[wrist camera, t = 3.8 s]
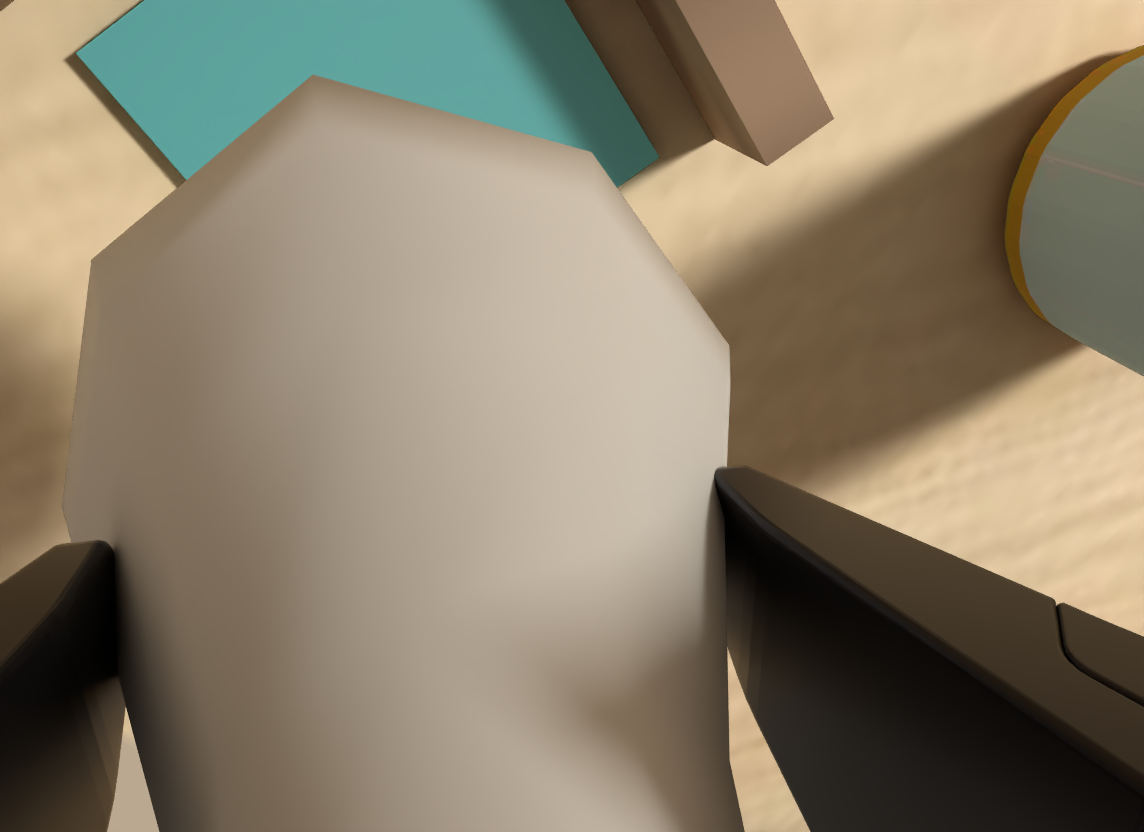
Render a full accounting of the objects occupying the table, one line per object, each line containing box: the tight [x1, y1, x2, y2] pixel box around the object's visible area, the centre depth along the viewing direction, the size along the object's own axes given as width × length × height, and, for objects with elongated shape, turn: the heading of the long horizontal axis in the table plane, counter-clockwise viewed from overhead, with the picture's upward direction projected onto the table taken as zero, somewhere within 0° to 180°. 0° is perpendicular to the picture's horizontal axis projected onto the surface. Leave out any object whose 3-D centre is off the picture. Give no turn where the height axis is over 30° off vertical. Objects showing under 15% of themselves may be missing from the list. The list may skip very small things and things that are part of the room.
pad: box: [76, 0, 659, 188], centre depth 20 cm, size 8×8×1 cm
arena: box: [0, 0, 834, 166], centre depth 18 cm, size 11×15×3 cm
